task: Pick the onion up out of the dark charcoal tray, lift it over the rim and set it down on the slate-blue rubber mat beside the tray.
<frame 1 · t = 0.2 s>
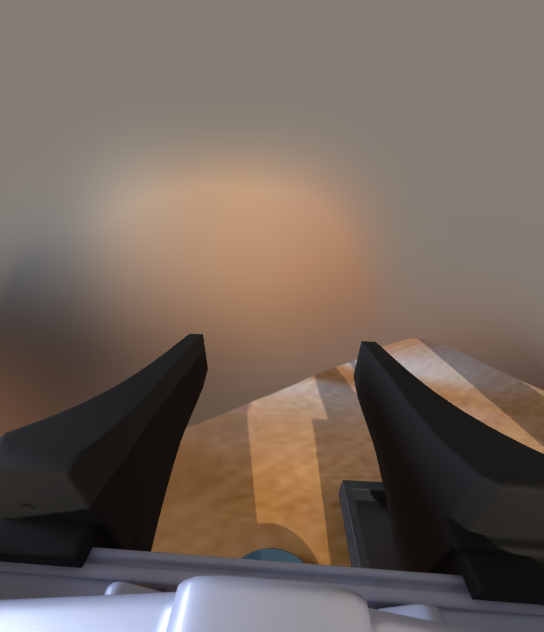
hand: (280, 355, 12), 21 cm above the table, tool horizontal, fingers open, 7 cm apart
tray: (443, 615, 20), on the table
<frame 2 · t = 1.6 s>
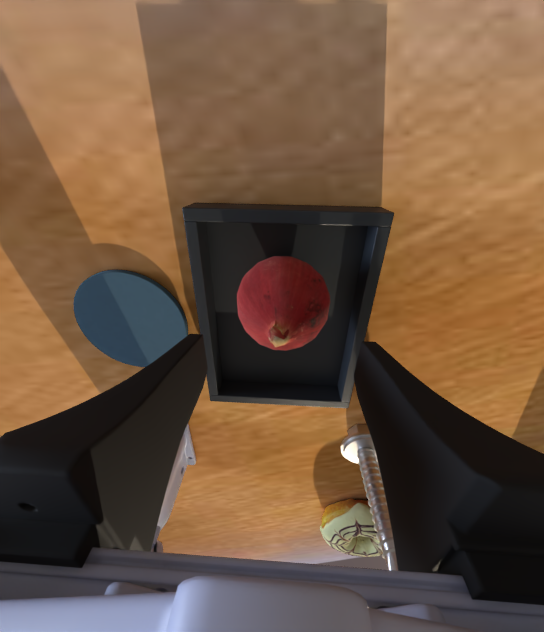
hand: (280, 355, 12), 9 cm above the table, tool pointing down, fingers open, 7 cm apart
onion: (283, 279, 20), resting on tray
screw: (359, 429, 29), on the table
decorated donut: (357, 511, 38), on the table
mat: (133, 321, 23), on the table
tray: (282, 312, 22), on the table
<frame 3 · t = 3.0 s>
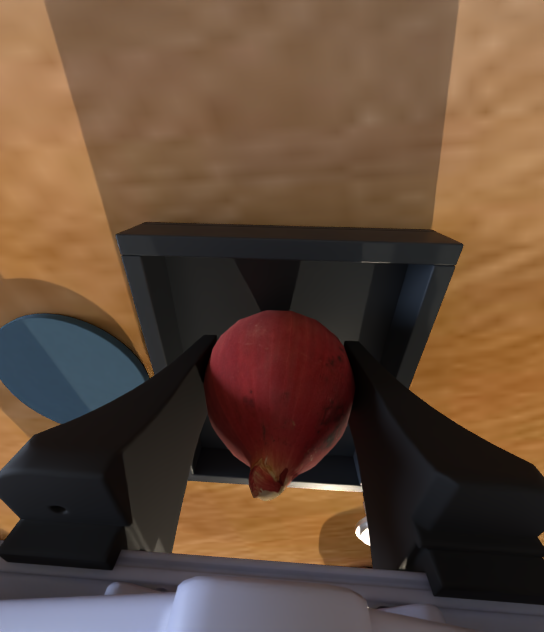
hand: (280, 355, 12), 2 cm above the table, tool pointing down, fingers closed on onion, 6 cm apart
onion: (281, 329, 14), resting on tray, touching gripper
mat: (78, 377, 17), on the table
tray: (279, 369, 16), on the table
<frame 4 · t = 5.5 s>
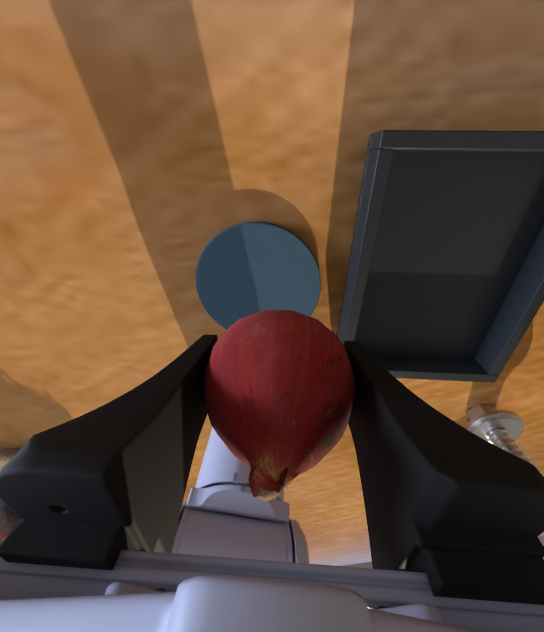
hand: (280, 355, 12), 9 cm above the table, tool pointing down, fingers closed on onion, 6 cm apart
onion: (281, 328, 14), point 7 cm above the table, touching gripper
screw: (478, 410, 26), on the table
mat: (258, 285, 20), on the table
tray: (434, 272, 19), on the table
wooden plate: (68, 504, 42), on the table
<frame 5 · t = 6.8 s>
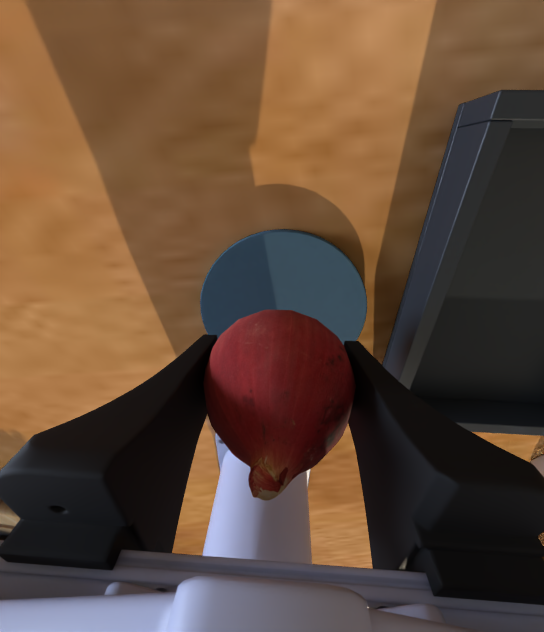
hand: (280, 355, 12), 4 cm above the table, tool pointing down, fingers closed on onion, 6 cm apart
onion: (281, 328, 14), point 2 cm above the table, touching gripper
mat: (282, 311, 16), on the table
tray: (519, 297, 14), on the table
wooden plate: (51, 545, 37), on the table
when the fingers open (2 cm above the table, at t = 7.9 s): onion stays where it is, resting on mat.
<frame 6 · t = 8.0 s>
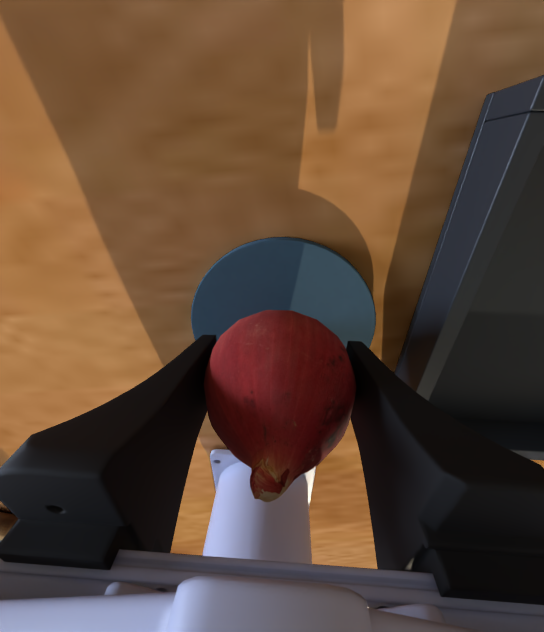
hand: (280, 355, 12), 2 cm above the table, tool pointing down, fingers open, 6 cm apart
onion: (281, 329, 14), resting on mat
mat: (281, 326, 14), on the table
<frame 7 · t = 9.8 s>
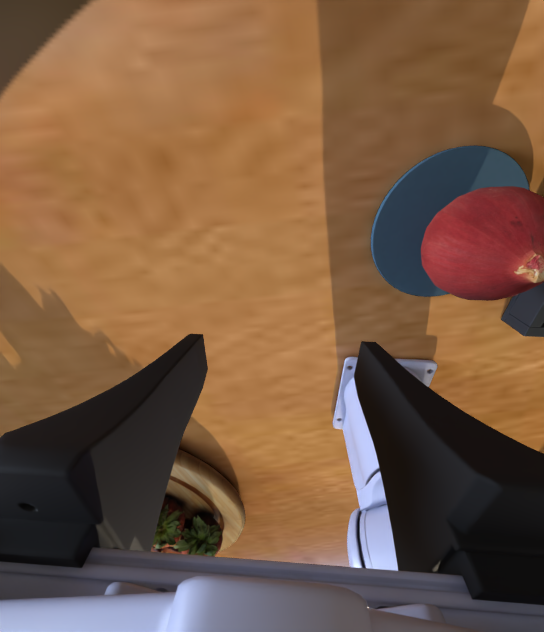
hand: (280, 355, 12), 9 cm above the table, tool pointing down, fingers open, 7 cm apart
onion: (445, 230, 17), resting on mat
mat: (443, 230, 18), on the table
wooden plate: (139, 495, 39), on the table
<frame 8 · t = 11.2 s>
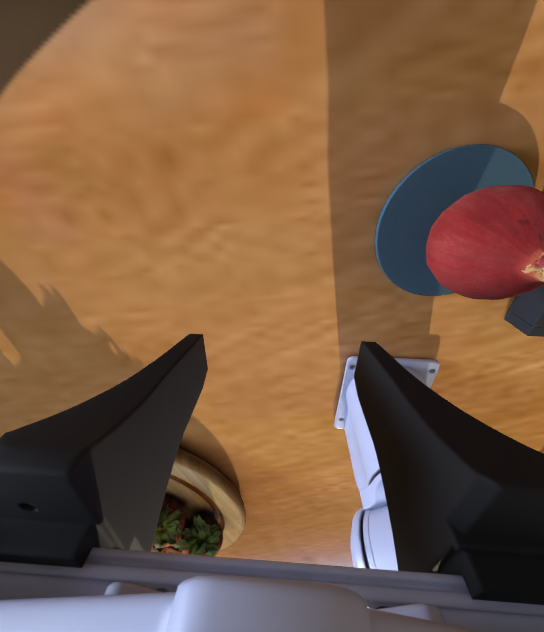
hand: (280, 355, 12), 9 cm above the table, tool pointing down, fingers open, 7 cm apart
onion: (450, 229, 17), resting on mat
mat: (447, 229, 18), on the table
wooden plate: (139, 494, 39), on the table
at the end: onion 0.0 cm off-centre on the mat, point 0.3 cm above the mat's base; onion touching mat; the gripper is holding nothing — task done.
